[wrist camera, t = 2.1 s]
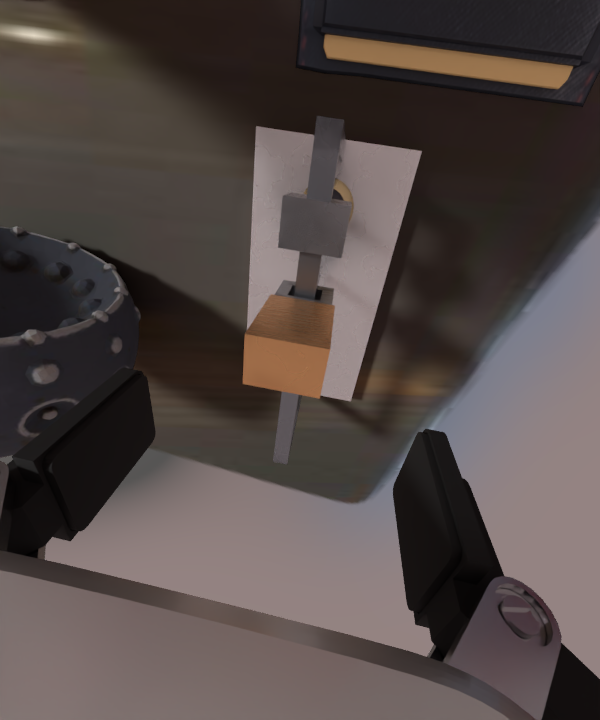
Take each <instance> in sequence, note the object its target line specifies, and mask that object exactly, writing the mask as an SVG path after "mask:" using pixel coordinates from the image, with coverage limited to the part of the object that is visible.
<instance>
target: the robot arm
mask: <svg viewBox="0 0 600 720" xmlns="http://www.w3.org/2000/svg"><path fill="white" fill-rule="evenodd" d="M154 438H155V426H154V419H153V413H152V406H151V400H150V393H149V387H148V380H147V377H146V376H144V375H143V373H142V371H139V370H134V369H129V368H122V369H120V370H119V371H117V372H116V373H115V374H114V375H112V376H111V377H110V378H109V379H107V380H106V381H105V382H104V383H103V384H101V385H100V386H99V387H98V388H96V389H95V390H94V391H93V392H91V393H90V394H89V395H88V396H86V397H85V398H84V399H83V400H81V401H80V402H79V403H78V404H76V405H75V406H74V407H73V408H71V409H70V410H69V411H68V412H66V413H65V414H64V415H63V416H61V417H60V418H59V419H58V420H56V421H55V422H54V423H53V424H51V425H50V426H49V427H48V428H47V429H45V430H44V431H43V432H42V433H40V434H39V435H38V436H37V437H35V438H34V439H33V440H32V441H30V442H29V443H28V444H27V445H25V446H24V447H23V448H22V449H20V450H19V451H18V452H17V453H15V454H14V455H13V456H12V458H13V460H12V461H11V462H10V463H9V464H7V465H6V464H5V463H4V462H1V461H0V720H600V679H599V678H598V677H597V676H596V675H595V674H594V673H593V672H592V671H590V670H589V669H588V668H587V667H586V666H585V665H584V664H583V663H582V662H581V661H580V660H579V659H578V658H577V657H576V656H575V655H574V654H573V653H572V652H571V651H569V650H568V649H567V648H566V647H565V646H564V645H563V644H562V643H561V633H560V629H559V626H558V623H557V621H556V619H555V618H554V615H553V614H552V611H551V610H550V609H549V607H548V606H547V605H546V603H545V602H544V601H543V599H541V597H539V596H538V595H537V594H536V593H535V592H534V591H533V590H532V589H531V588H529V587H528V586H527V585H525V584H524V583H522V582H520V581H518V580H516V579H514V578H511V577H505V576H504V574H503V572H502V569H501V566H500V564H499V561H498V558H497V556H496V553H495V551H494V548H493V546H492V543H491V540H490V538H489V535H488V532H487V530H486V527H485V524H484V522H483V519H482V517H481V514H480V511H479V509H478V506H477V504H476V501H475V498H474V496H473V493H472V491H471V488H470V486H469V484H468V482H467V481H466V480H465V479H463V478H462V477H461V474H460V471H459V469H458V466H457V463H456V460H455V458H454V455H453V452H452V450H451V447H450V444H449V441H448V439H447V436H446V434H445V433H444V432H439V431H434V430H429V429H425V430H424V431H423V433H422V432H418V433H417V435H416V437H415V440H414V442H413V444H412V446H411V448H410V451H409V453H408V455H407V457H406V459H405V461H404V464H403V466H402V468H401V470H400V472H399V475H398V477H397V479H396V481H395V483H394V488H393V498H394V506H395V514H396V521H397V529H398V537H399V545H400V553H401V561H402V568H403V576H404V584H405V592H406V600H407V605H408V608H409V610H411V611H414V618H415V624H416V625H419V626H423V627H427V628H429V629H430V635H431V640H432V642H433V643H434V645H433V647H432V649H431V651H430V652H429V654H428V656H427V657H425V656H422V655H419V654H416V653H413V652H410V651H406V650H403V649H399V648H395V647H392V646H388V645H384V644H381V643H377V642H373V641H370V640H366V639H362V638H359V637H355V636H351V635H348V634H344V633H340V632H336V631H332V630H328V629H324V628H320V627H316V626H312V625H308V624H304V623H300V622H296V621H292V620H288V619H284V618H280V617H276V616H272V615H268V614H264V613H261V612H256V611H252V610H248V609H244V608H240V607H236V606H232V605H228V604H224V603H220V602H216V601H212V600H208V599H204V598H200V597H196V596H192V595H187V594H184V593H180V592H176V591H171V590H168V589H164V588H159V587H155V586H151V585H147V584H143V583H139V582H135V581H131V580H126V579H122V578H118V577H114V576H110V575H106V574H102V573H98V572H93V571H89V570H85V569H81V568H77V567H73V566H68V565H64V564H60V563H56V562H51V561H47V560H45V547H46V544H47V542H48V541H49V540H50V539H51V538H52V537H56V538H59V539H63V540H68V541H71V540H72V539H73V538H74V536H75V535H76V534H77V533H78V531H82V530H84V529H85V528H86V527H87V526H88V525H89V523H90V522H91V521H92V520H93V518H94V517H95V516H96V515H97V513H98V512H99V511H100V509H101V508H102V507H103V505H104V504H105V503H106V502H107V500H108V499H109V497H110V496H111V495H112V494H113V493H114V491H115V490H116V489H117V487H118V486H119V485H120V483H121V482H122V481H123V480H124V478H125V477H126V475H127V474H128V473H129V472H130V470H131V469H132V468H133V467H134V465H135V464H136V463H137V461H138V460H139V459H140V458H141V456H142V455H143V454H144V452H145V451H146V450H147V449H148V447H149V446H150V445H151V443H152V442H153V440H154Z"/></svg>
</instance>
